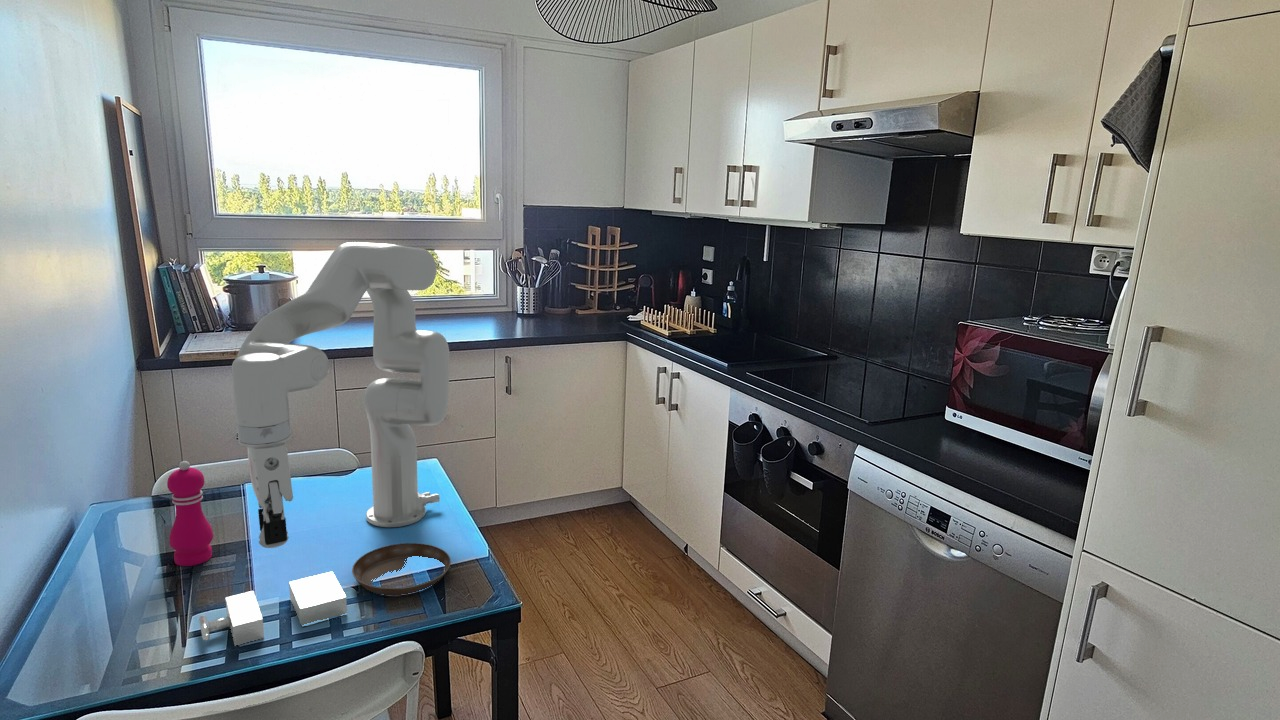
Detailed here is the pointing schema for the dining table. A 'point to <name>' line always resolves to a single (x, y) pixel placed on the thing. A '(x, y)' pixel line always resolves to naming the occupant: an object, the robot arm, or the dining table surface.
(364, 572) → the plant saucer
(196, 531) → the pepper mill
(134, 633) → the dining table surface
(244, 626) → the bench vise
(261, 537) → the rook chess piece
